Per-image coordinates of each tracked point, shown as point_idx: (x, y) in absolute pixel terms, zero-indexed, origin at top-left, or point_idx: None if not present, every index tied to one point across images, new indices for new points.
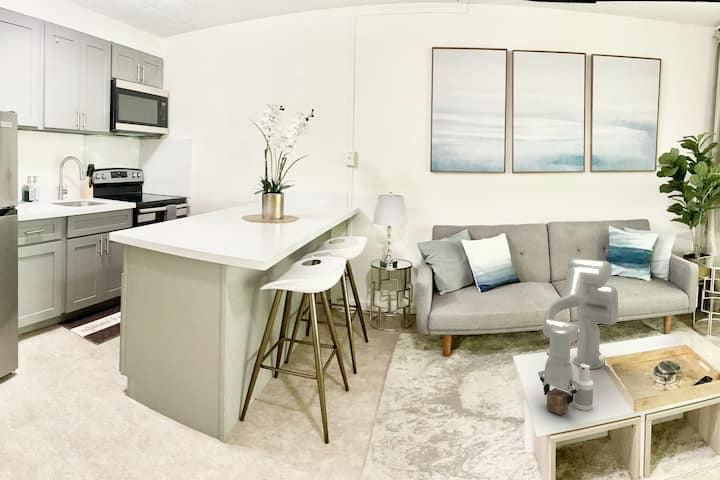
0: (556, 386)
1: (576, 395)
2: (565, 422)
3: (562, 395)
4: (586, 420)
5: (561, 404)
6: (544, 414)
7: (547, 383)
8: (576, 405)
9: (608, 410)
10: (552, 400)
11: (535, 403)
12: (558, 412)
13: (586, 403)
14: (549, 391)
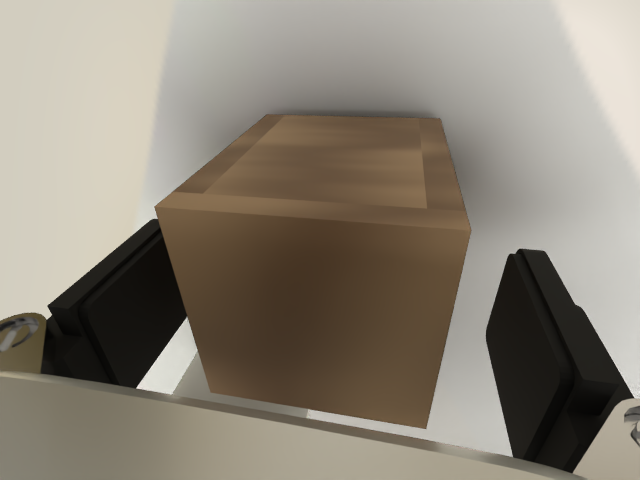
0: (172, 420)
1: (247, 406)
2: (195, 50)
3: (213, 295)
4: (137, 211)
5: (212, 160)
6: (433, 28)
7: (549, 476)
8: None
9: (161, 376)
10: (354, 170)
11: (611, 185)
12: (291, 121)
13: (193, 362)
14: (450, 297)
